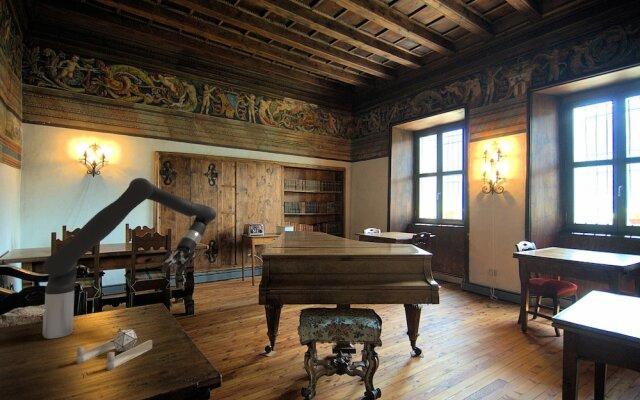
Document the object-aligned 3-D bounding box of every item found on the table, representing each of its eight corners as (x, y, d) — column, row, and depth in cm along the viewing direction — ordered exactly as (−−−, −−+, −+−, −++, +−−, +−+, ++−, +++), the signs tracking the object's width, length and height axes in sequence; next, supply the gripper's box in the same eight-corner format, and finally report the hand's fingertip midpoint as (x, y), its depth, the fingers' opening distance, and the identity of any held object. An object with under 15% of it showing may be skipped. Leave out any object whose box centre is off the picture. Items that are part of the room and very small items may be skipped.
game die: (126, 363, 116) (122, 348, 111) (107, 352, 118) (103, 336, 112) (146, 343, 124) (143, 327, 118) (128, 333, 125) (125, 317, 120)
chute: (74, 363, 108) (75, 348, 108) (121, 342, 125) (121, 329, 125) (109, 370, 104) (110, 354, 104) (153, 348, 120) (153, 334, 121)
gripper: (172, 236, 150) (152, 265, 138) (199, 237, 145) (179, 268, 134) (180, 246, 155) (161, 275, 143) (206, 247, 150) (188, 278, 139)
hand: (170, 272), depth 139 cm, fingers open, 7 cm apart
